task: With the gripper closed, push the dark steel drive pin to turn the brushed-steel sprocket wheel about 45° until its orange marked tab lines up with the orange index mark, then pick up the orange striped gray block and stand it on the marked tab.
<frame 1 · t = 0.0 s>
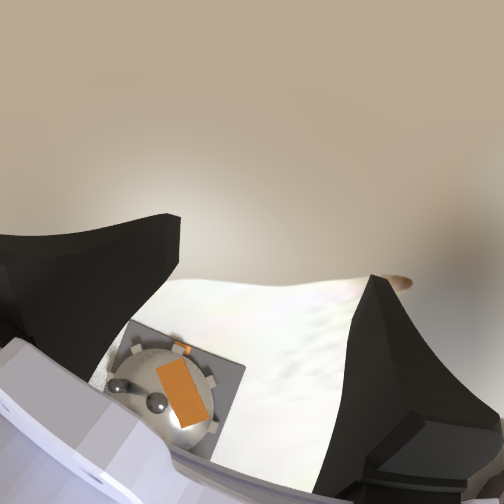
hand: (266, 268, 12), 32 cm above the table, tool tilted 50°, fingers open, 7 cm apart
base plate: (162, 401, 40), on the table
sprocket: (155, 403, 37), point 3 cm above the table, hinge at 0.0°
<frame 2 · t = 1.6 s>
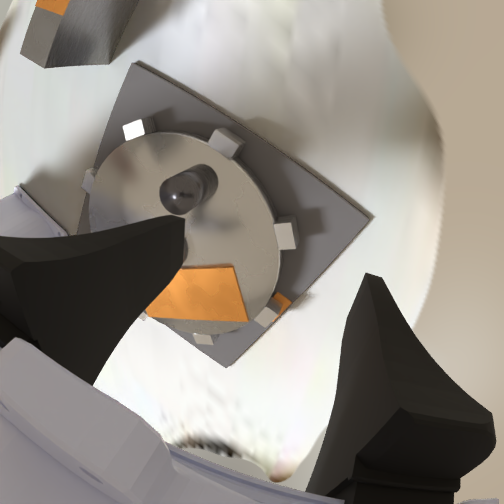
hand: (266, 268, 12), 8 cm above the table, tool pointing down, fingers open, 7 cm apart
base plate: (181, 235, 23), on the table
orange striped gray block: (116, 9, 16), on the table
sprocket: (161, 252, 20), point 3 cm above the table, hinge at 0.0°
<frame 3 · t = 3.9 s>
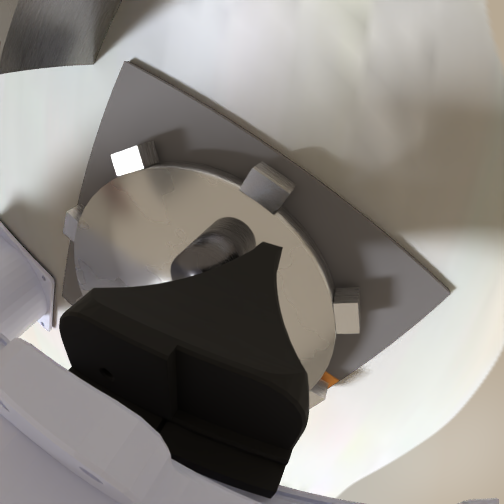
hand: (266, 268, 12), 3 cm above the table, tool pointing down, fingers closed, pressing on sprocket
base plate: (197, 298, 17), on the table
sprocket: (173, 328, 15), point 3 cm above the table, hinge at 0.5°, touching gripper
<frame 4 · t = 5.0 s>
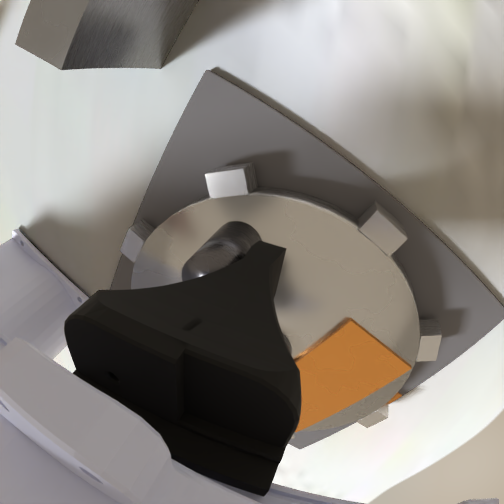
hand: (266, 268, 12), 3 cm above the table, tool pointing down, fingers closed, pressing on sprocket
base plate: (271, 324, 17), on the table
sprocket: (256, 359, 15), point 3 cm above the table, hinge at 42.7°, touching gripper
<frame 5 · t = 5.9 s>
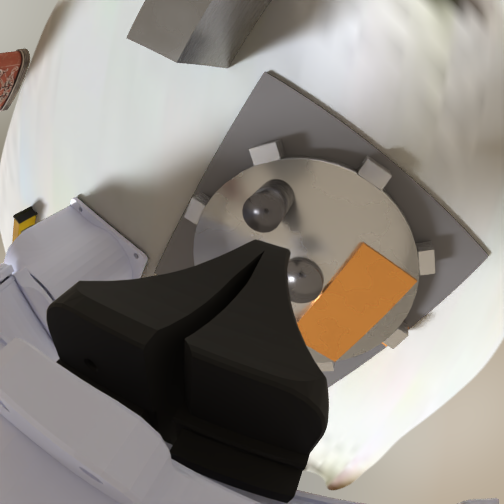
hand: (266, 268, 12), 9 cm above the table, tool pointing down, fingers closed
base plate: (305, 264, 22), on the table
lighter: (15, 80, 23), on the table
spirit level: (27, 288, 39), on the table
orange striped gray block: (237, 5, 15), on the table
sprocket: (297, 286, 20), point 3 cm above the table, hinge at 49.6°
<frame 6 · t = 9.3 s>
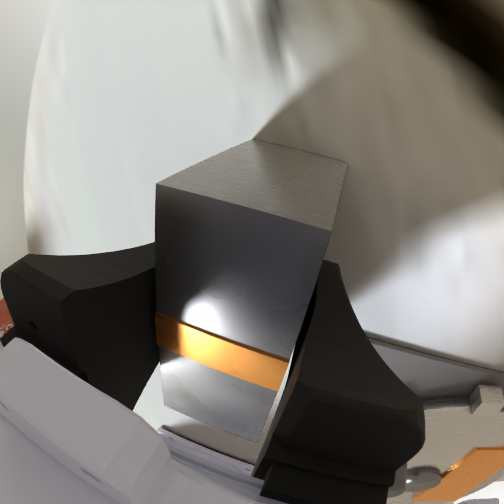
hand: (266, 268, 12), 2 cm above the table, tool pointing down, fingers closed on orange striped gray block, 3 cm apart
base plate: (420, 455, 16), on the table
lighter: (30, 312, 24), on the table
orange striped gray block: (278, 248, 13), on the table, touching gripper
sprocket: (418, 488, 14), point 3 cm above the table, hinge at 49.6°
when the fingers open (5 cm above the table, at t = 16.1 s): orange striped gray block stays where it is, resting on sprocket.
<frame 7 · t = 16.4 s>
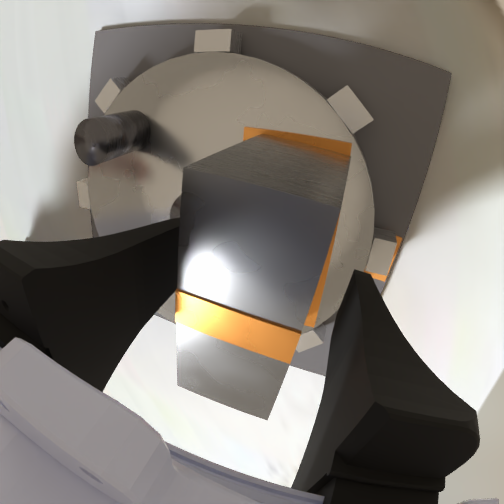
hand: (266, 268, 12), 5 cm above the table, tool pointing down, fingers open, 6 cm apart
base plate: (220, 205, 16), on the table
orange striped gray block: (285, 236, 14), point 2 cm above the table, touching sprocket
sprocket: (195, 226, 14), point 3 cm above the table, hinge at 49.6°, touching orange striped gray block
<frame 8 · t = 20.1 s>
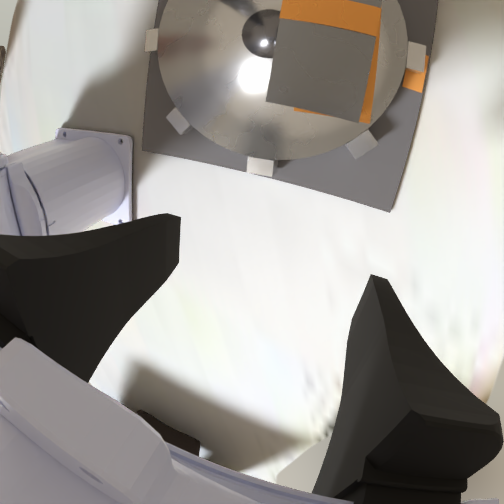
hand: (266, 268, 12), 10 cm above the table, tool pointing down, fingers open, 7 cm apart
base plate: (278, 39, 16), on the table
orange striped gray block: (340, 39, 14), point 2 cm above the table, touching sprocket
sprocket: (266, 32, 14), point 3 cm above the table, hinge at 49.6°, touching orange striped gray block
portable electronic device stand: (168, 435, 46), on the table
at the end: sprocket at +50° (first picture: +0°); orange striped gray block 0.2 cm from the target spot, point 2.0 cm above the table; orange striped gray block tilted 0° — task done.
